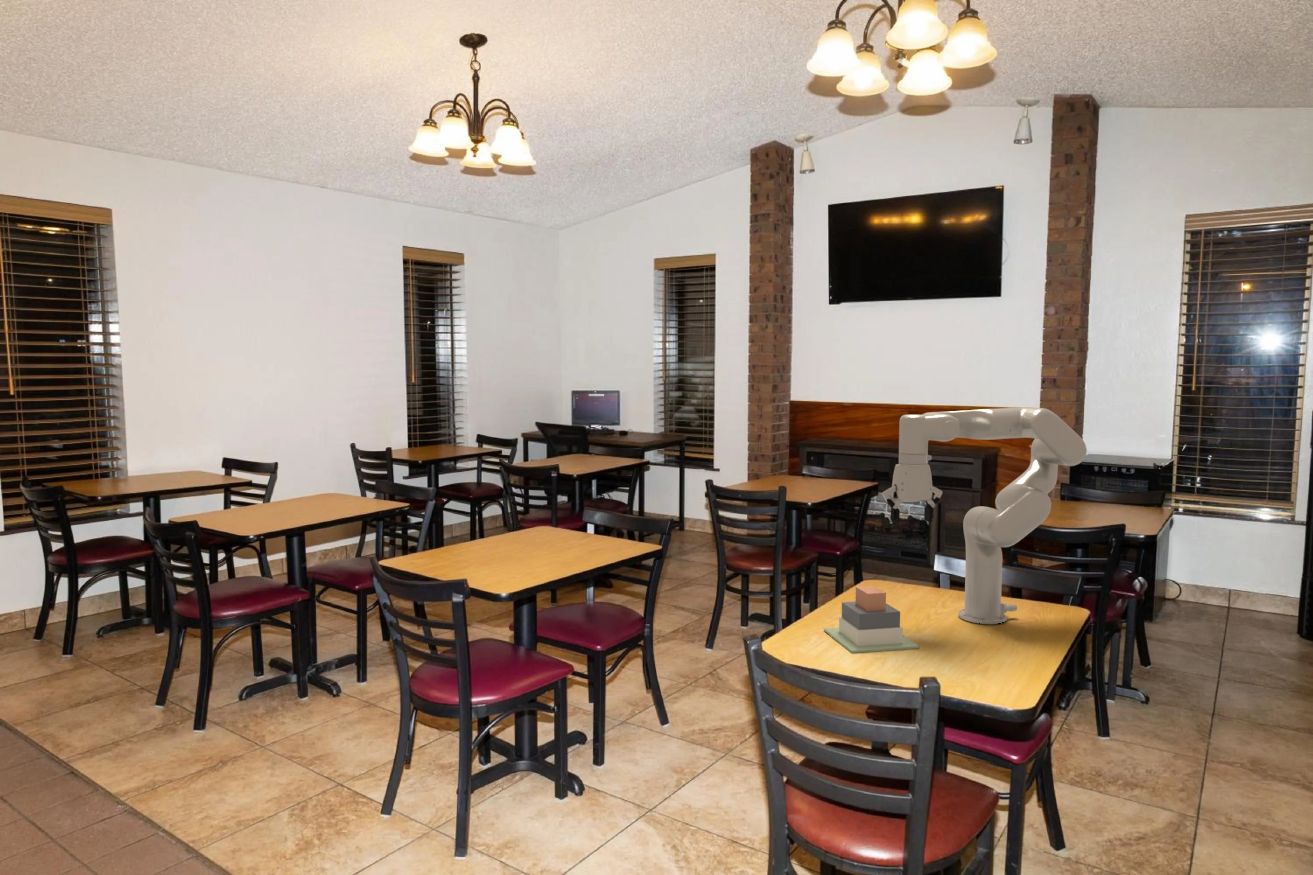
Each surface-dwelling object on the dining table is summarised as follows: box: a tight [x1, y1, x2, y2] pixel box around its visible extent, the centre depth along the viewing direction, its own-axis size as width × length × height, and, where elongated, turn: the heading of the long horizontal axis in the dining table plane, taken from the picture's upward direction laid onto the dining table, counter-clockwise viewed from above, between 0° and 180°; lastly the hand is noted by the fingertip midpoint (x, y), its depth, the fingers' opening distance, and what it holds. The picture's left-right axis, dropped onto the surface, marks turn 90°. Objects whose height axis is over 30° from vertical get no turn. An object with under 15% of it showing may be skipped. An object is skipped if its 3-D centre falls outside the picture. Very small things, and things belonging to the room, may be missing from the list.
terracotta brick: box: [855, 585, 887, 611], centre depth 212 cm, size 5×7×4 cm
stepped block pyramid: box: [823, 601, 920, 654], centre depth 212 cm, size 18×18×9 cm
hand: (911, 521), depth 225 cm, fingers open, 9 cm apart
